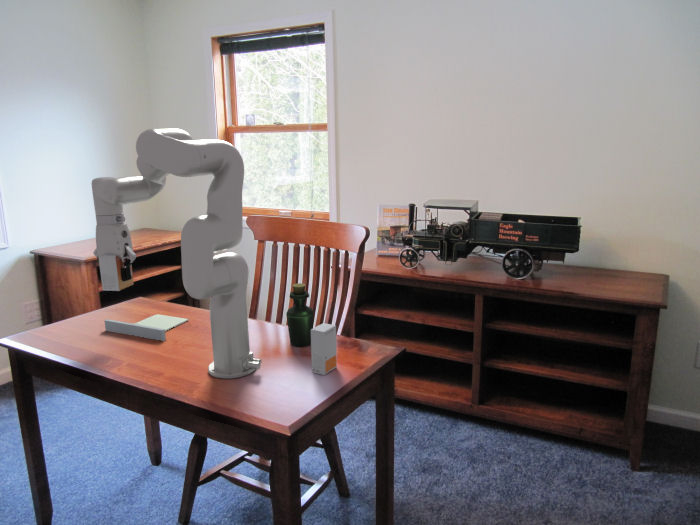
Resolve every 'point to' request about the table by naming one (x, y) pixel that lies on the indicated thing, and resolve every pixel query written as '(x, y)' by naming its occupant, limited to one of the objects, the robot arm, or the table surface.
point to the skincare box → (323, 348)
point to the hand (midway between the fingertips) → (117, 278)
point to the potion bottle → (300, 317)
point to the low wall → (135, 329)
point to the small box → (112, 273)
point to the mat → (162, 321)
